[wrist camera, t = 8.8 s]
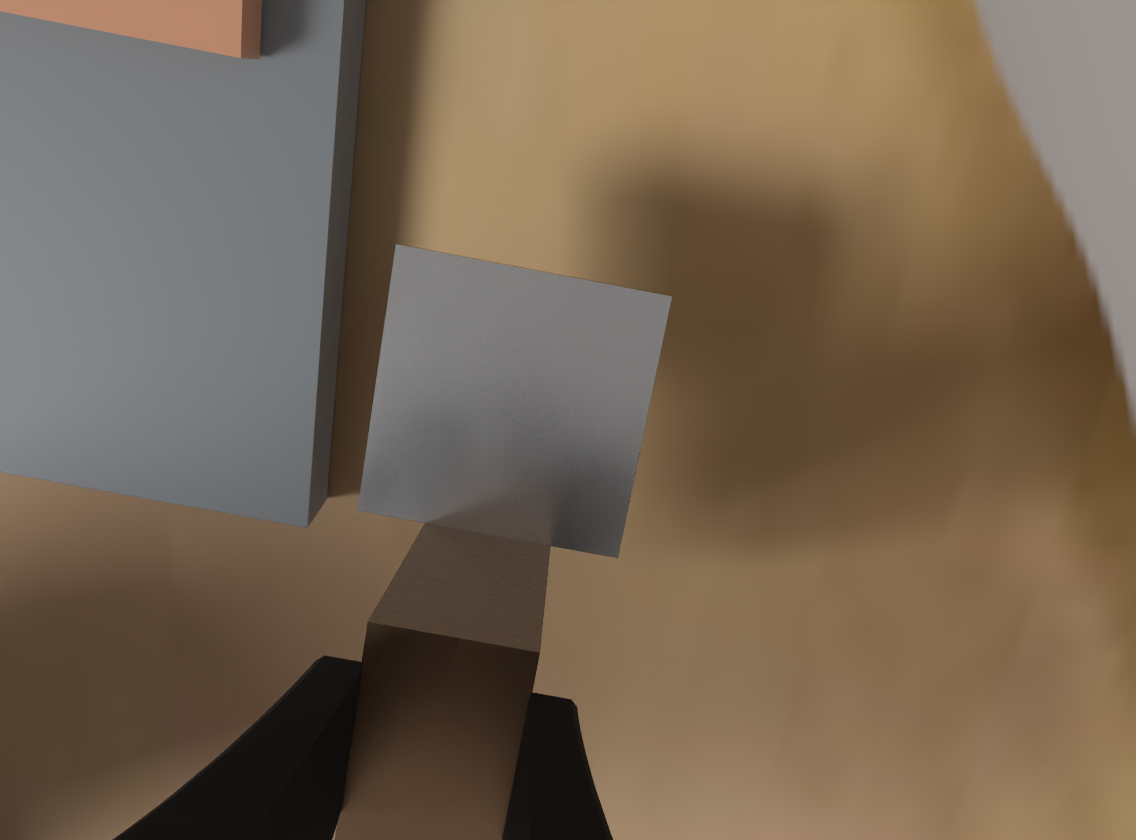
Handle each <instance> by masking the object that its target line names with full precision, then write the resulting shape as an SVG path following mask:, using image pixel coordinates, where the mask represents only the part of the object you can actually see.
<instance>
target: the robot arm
mask: <svg viewBox="0 0 1136 840" xmlns="http://www.w3.org/2000/svg"><path fill="white" fill-rule="evenodd" d="M361 664H362V662H357V661H352V660H346V659H340V658H335V657H329V656H323V657H321V658H320V659H318V660H316V661H315V662H314V663H313V664H312V666H311V667H310V668H309V669H308V670H307V671H306V672H305V673H304V674H303V675H302V676H301V677H300V678H299V680H298V681H297V682H296V683H295V684H294V685H293V686H292V687H291V688H290V689H289V690H288V691H287V692H286V693H285V694H284V695H283V696H282V697H281V698H280V699H279V700H278V701H277V702H276V703H275V704H274V705H273V706H272V707H271V708H270V709H269V710H268V711H267V712H266V713H265V714H264V715H263V716H262V717H261V718H260V719H259V720H257V721H256V722H255V723H254V724H253V725H252V726H251V727H250V728H249V729H248V730H247V731H246V732H244V733H243V734H242V735H241V736H240V737H239V738H238V739H237V740H236V741H235V742H234V743H232V744H231V745H230V746H229V747H228V748H227V749H226V750H225V751H224V752H223V753H222V754H220V755H219V756H218V757H217V758H216V759H215V760H214V761H212V762H211V763H210V764H209V765H208V766H206V767H205V768H204V769H203V770H202V771H200V772H199V773H198V774H197V775H195V776H194V777H193V778H192V779H191V780H189V781H188V782H187V783H186V784H185V785H183V786H182V787H181V788H180V789H179V790H177V791H176V792H175V793H174V794H173V795H171V796H170V797H169V798H168V799H166V800H165V801H164V802H163V803H161V804H160V805H159V806H157V807H156V808H155V809H154V810H152V811H151V812H150V813H148V814H147V815H146V816H144V817H143V818H142V819H140V820H139V821H138V822H136V823H135V824H134V825H132V826H131V827H130V828H128V829H127V830H125V831H124V832H123V833H121V834H120V835H118V836H117V837H116V838H114V839H113V840H332V838H333V835H334V832H335V829H336V826H337V823H338V819H339V816H340V813H341V808H342V802H343V795H344V788H345V782H346V775H347V769H348V762H349V755H350V749H351V742H352V736H353V729H354V722H355V716H356V709H357V702H358V696H359V689H360V683H361V676H362V669H363V668H362V667H361ZM502 840H613V838H612V835H611V833H610V830H609V827H608V824H607V821H606V818H605V815H604V812H603V809H602V806H601V803H600V800H599V797H598V795H597V791H596V788H595V785H594V782H593V778H592V775H591V771H590V767H589V764H588V760H587V756H586V753H585V748H584V744H583V740H582V735H581V730H580V725H579V719H578V711H577V706H576V705H575V704H574V702H573V701H572V700H571V699H566V698H560V697H555V696H549V695H543V694H538V693H532V695H531V697H529V703H528V708H527V713H526V718H525V723H524V728H523V734H522V739H521V744H520V749H519V754H518V759H517V765H516V770H515V775H514V780H513V785H512V790H511V796H510V801H509V806H508V811H507V816H506V821H505V827H504V832H503V837H502Z"/></svg>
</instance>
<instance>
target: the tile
mask: <svg viewBox="0 0 1136 840" xmlns="http://www.w3.org/2000/svg"><path fill="white" fill-rule="evenodd" d="M0 11H1V12H6V13H11V14H16V15H22V16H27V17H32V18H37V19H42V20H47V21H52V22H58V23H63V24H68V25H73V26H78V27H83V28H88V29H93V30H99V31H104V32H109V33H114V34H119V35H124V36H129V37H135V38H140V39H145V40H150V41H155V42H160V43H165V44H171V45H176V46H181V47H186V48H191V49H196V50H201V51H206V52H212V53H217V54H222V55H227V56H232V57H237V58H247V59H260V41H261V14H262V0H0Z"/></svg>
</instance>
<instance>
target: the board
mask: <svg viewBox="0 0 1136 840" xmlns="http://www.w3.org/2000/svg"><path fill="white" fill-rule="evenodd" d="M365 9H366V0H262V14H261V41H260V59H247V58H237V57H232V56H227V55H222V54H217V53H212V52H206V51H201V50H196V49H191V48H186V47H181V46H176V45H171V44H165V43H160V42H155V41H150V40H145V39H140V38H135V37H129V36H124V35H119V34H114V33H109V32H104V31H99V30H93V29H88V28H83V27H78V26H73V25H68V24H63V23H58V22H52V21H47V20H42V19H37V18H32V17H27V16H22V15H16V14H11V13H6V12H1V11H0V472H2V473H7V474H13V475H19V476H24V477H30V478H35V479H41V480H46V481H52V482H57V483H63V484H68V485H74V486H79V487H85V488H90V489H96V490H101V491H107V492H112V493H118V494H123V495H129V496H135V497H140V498H146V499H151V500H157V501H162V502H168V503H173V504H179V505H184V506H190V507H195V508H201V509H206V510H212V511H217V512H223V513H228V514H234V515H239V516H245V517H251V518H256V519H262V520H267V521H273V522H278V523H284V524H289V525H295V526H300V527H306V528H308V526H309V525H310V523H311V522H312V520H313V519H314V517H315V516H316V514H317V513H318V511H319V510H320V508H321V507H322V505H323V504H324V502H325V501H326V500H327V492H328V479H329V466H330V454H331V441H332V428H333V416H334V403H335V390H336V377H337V365H338V352H339V339H340V327H341V314H342V301H343V289H344V276H345V263H346V250H347V238H348V225H349V212H350V200H351V187H352V174H353V162H354V149H355V136H356V123H357V111H358V98H359V85H360V73H361V60H362V47H363V35H364V22H365Z"/></svg>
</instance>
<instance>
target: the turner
mask: <svg viewBox="0 0 1136 840" xmlns="http://www.w3.org/2000/svg"><path fill="white" fill-rule="evenodd" d="M671 300H672V296H669V295H665V294H660V293H654V292H649V291H644V290H639V289H633V288H628V287H623V286H618V285H612V284H607V283H602V282H596V281H591V280H586V279H581V278H575V277H570V276H565V275H559V274H554V273H549V272H544V271H538V270H533V269H528V268H522V267H517V266H512V265H507V264H501V263H496V262H491V261H486V260H480V259H475V258H470V257H464V256H459V255H454V254H449V253H443V252H438V251H433V250H427V249H422V248H417V247H412V246H406V245H399V244H396V247H395V253H394V260H393V267H392V274H391V281H390V288H389V295H388V302H387V309H386V316H385V323H384V330H383V337H382V344H381V350H380V357H379V364H378V371H377V378H376V385H375V392H374V399H373V406H372V413H371V420H370V427H369V434H368V441H367V447H366V454H365V461H364V468H363V475H362V482H361V489H360V496H359V503H358V510H357V511H362V512H368V513H373V514H378V515H384V516H389V517H395V518H400V519H406V520H411V521H417V522H422V523H425V525H424V526H423V528H422V530H421V531H420V533H419V535H418V537H417V538H416V540H415V542H414V543H413V545H412V547H411V549H410V550H409V552H408V554H407V555H406V557H405V559H404V561H403V562H402V564H401V566H400V567H399V569H398V571H397V573H396V574H395V576H394V578H393V579H392V581H391V583H390V585H389V586H388V588H387V590H386V591H385V593H384V595H383V597H382V598H381V600H380V602H379V603H378V605H377V607H376V609H375V610H374V612H373V614H372V615H371V617H370V619H369V621H368V624H367V631H366V637H365V644H364V650H363V657H362V664H361V667H362V668H363V669H362V676H361V683H360V689H359V696H358V702H357V709H356V716H355V722H354V729H353V736H352V742H351V749H350V755H349V762H348V769H347V775H346V782H345V788H344V795H343V802H342V808H341V813H340V816H339V819H338V823H337V830H336V836H335V840H502V837H503V832H504V827H505V821H506V816H507V811H508V806H509V801H510V796H511V790H512V785H513V780H514V775H515V770H516V765H517V759H518V754H519V749H520V744H521V739H522V734H523V728H524V723H525V718H526V713H527V708H528V703H529V697H531V695H532V690H533V685H534V680H535V675H536V670H537V664H538V659H539V654H540V645H541V635H542V625H543V615H544V605H545V595H546V585H547V575H548V565H549V555H550V546H554V547H560V548H565V549H571V550H576V551H582V552H587V553H593V554H598V555H604V556H609V557H615V558H618V555H619V550H620V545H621V540H622V535H623V531H624V526H625V521H626V516H627V511H628V507H629V502H630V497H631V492H632V487H633V483H634V478H635V473H636V468H637V463H638V458H639V454H640V449H641V444H642V439H643V434H644V430H645V425H646V420H647V415H648V410H649V406H650V401H651V396H652V391H653V386H654V382H655V377H656V372H657V367H658V362H659V357H660V353H661V348H662V343H663V338H664V333H665V329H666V324H667V319H668V314H669V309H670V305H671Z"/></svg>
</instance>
